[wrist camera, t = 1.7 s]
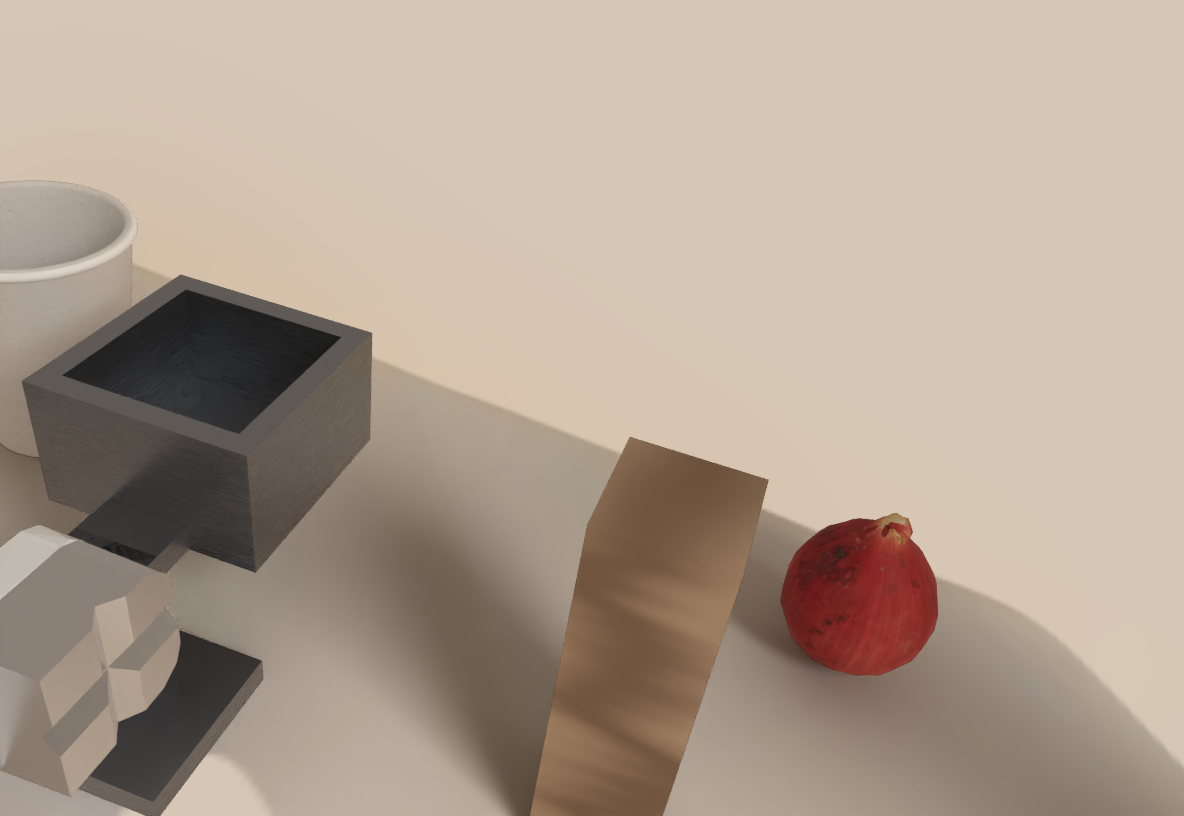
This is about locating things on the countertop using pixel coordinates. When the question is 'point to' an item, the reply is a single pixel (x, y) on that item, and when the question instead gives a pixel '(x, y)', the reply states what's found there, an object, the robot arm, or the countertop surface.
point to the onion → (861, 596)
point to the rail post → (644, 630)
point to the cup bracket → (196, 475)
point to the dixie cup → (55, 283)
